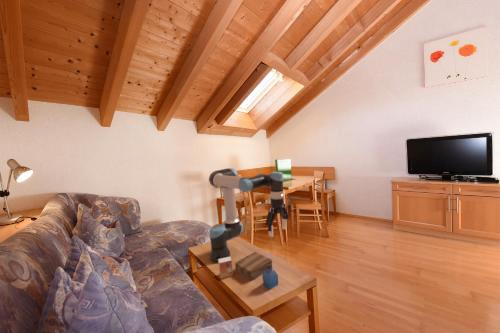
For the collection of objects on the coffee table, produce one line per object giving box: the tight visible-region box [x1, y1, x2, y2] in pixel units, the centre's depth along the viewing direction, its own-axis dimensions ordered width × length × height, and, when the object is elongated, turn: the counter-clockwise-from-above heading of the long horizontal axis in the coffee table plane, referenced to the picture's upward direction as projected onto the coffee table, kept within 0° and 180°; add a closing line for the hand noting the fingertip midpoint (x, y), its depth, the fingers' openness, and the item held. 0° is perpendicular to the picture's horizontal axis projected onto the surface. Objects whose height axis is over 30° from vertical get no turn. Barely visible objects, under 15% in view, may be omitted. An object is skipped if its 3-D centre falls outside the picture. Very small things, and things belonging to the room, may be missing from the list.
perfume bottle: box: [262, 263, 279, 291], centre depth 127 cm, size 6×6×12 cm
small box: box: [217, 255, 234, 279], centre depth 141 cm, size 8×6×10 cm
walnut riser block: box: [234, 251, 273, 281], centre depth 145 cm, size 16×18×6 cm
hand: (277, 232), depth 133 cm, fingers open, 13 cm apart
